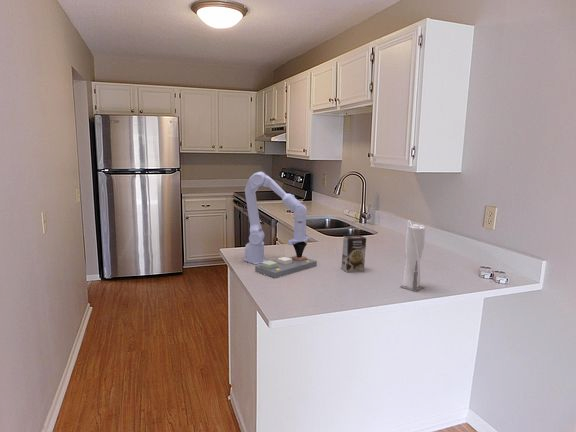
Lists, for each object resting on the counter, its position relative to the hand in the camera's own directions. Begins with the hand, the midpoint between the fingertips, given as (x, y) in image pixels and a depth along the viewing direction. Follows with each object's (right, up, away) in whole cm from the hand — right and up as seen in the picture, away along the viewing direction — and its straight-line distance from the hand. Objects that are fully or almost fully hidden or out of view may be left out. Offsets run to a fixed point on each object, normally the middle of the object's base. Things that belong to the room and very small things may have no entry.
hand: (299, 257), depth 196 cm
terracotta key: (0, -3, 0) cm, 3 cm away
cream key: (-7, -3, -7) cm, 10 cm away
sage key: (-14, -4, -14) cm, 20 cm away
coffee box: (+25, -6, -7) cm, 27 cm away
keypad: (-6, -5, -8) cm, 11 cm away
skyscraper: (+46, -10, -28) cm, 55 cm away
